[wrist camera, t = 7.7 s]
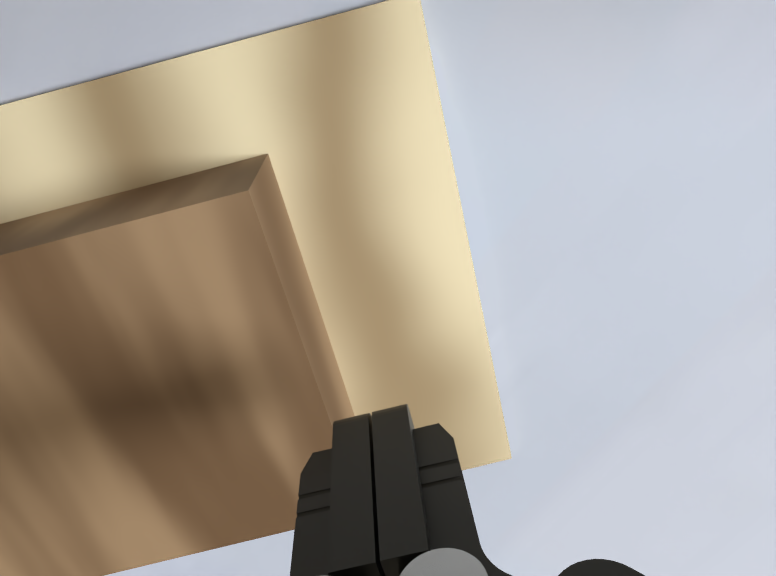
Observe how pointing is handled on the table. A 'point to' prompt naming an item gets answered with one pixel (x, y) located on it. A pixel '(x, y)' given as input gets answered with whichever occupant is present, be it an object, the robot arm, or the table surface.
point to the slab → (157, 374)
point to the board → (305, 191)
